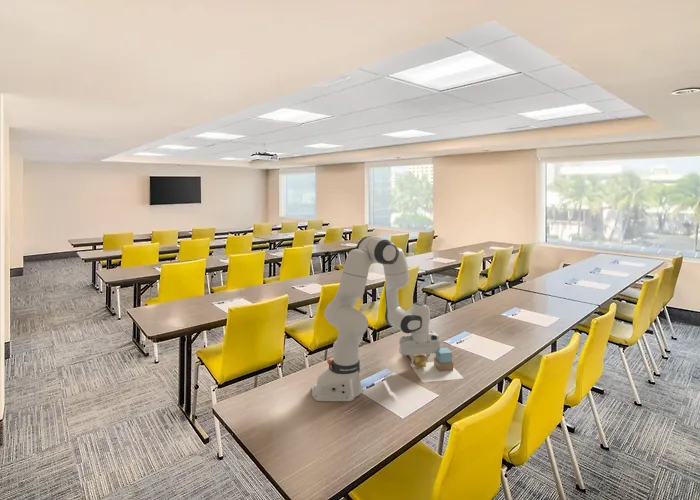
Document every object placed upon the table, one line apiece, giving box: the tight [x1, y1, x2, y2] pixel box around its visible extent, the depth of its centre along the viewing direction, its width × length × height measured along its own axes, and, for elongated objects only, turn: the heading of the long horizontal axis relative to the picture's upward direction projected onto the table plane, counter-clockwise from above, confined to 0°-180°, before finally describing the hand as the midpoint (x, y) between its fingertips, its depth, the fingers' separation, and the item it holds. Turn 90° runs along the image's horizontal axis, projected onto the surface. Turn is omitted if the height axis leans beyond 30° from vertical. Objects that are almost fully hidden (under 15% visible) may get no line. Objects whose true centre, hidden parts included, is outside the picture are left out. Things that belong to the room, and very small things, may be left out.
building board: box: [409, 357, 464, 384], centre depth 186 cm, size 20×19×5 cm
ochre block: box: [412, 354, 427, 368], centre depth 190 cm, size 5×5×5 cm
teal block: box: [434, 347, 453, 363], centre depth 189 cm, size 6×6×5 cm
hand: (419, 362), depth 190 cm, fingers closed on ochre block, 5 cm apart
